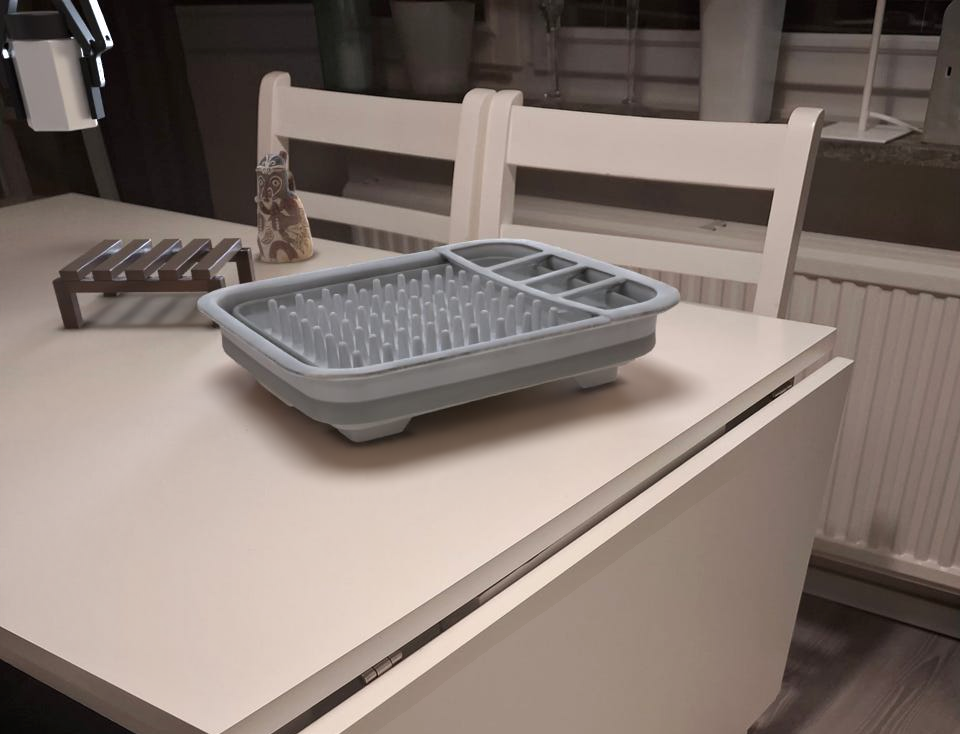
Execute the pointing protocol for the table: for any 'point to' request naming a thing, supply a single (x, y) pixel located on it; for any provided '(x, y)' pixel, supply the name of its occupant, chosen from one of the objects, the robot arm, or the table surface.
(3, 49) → the robot arm
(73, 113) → the jar
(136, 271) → the rack
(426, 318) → the dish rack
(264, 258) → the figurine
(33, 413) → the table surface
